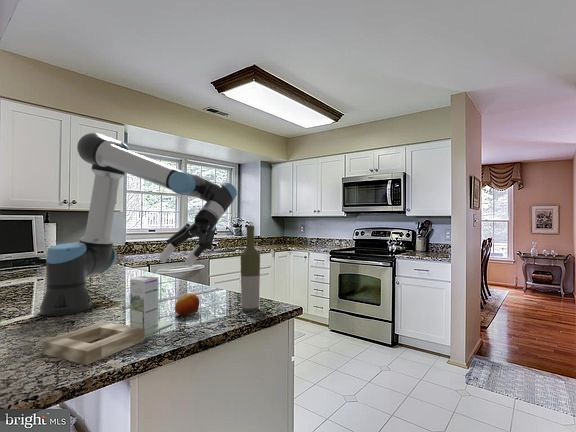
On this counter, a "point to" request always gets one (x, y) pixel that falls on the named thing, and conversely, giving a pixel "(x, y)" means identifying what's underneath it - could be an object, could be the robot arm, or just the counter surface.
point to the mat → (156, 327)
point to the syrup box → (144, 302)
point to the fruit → (187, 305)
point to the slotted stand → (86, 353)
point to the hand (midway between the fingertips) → (173, 262)
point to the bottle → (250, 274)
